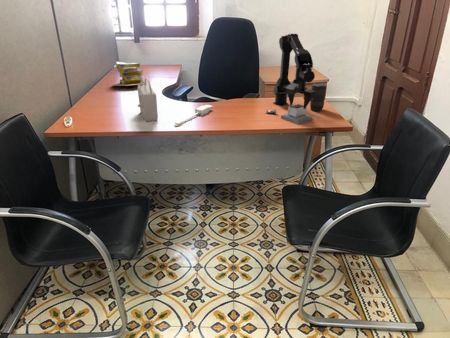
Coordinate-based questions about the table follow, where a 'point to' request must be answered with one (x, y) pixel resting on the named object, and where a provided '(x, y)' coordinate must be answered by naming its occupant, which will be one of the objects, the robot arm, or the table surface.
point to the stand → (296, 120)
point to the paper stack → (128, 73)
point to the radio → (147, 101)
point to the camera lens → (318, 96)
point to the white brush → (199, 111)
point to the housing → (296, 110)
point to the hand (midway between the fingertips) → (297, 106)
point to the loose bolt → (271, 112)
